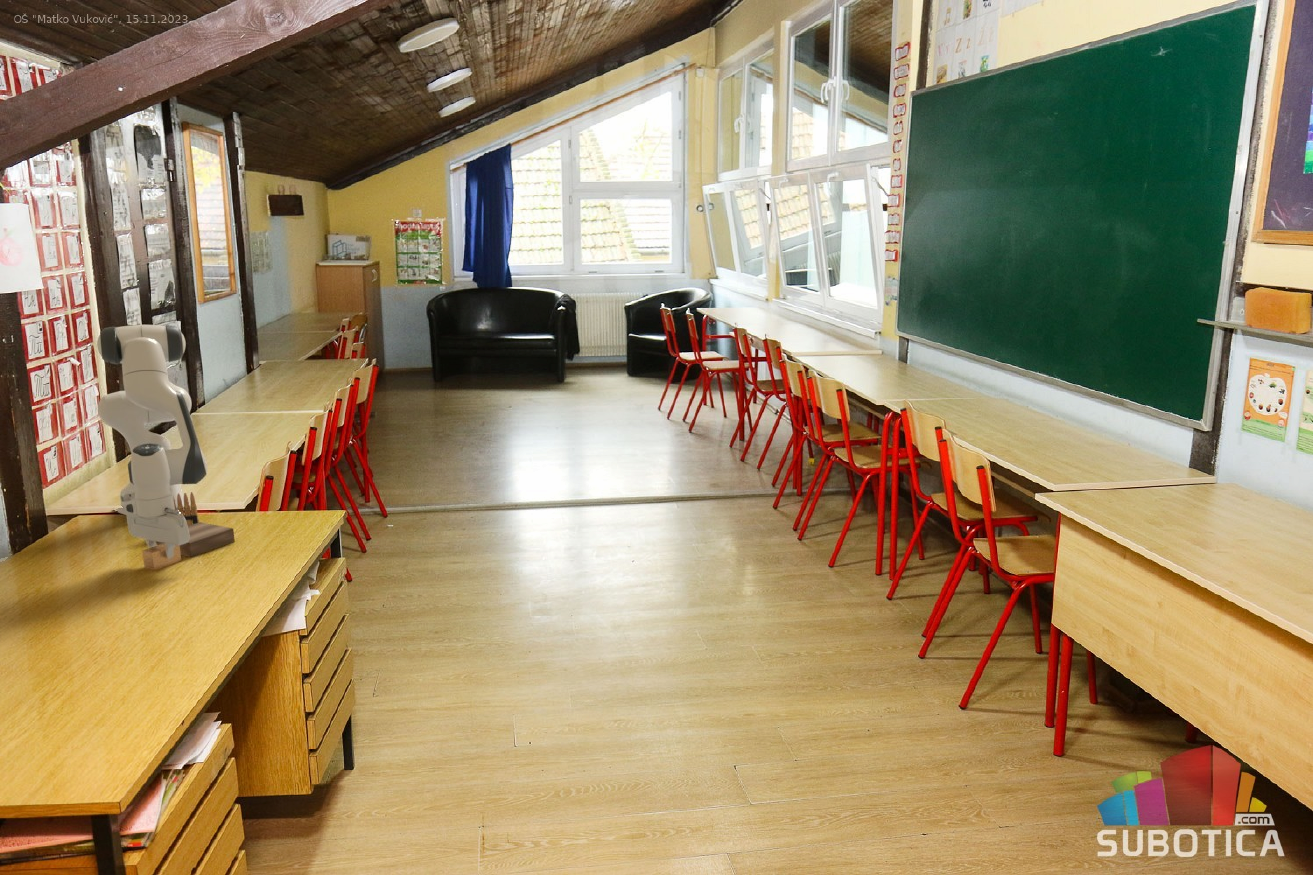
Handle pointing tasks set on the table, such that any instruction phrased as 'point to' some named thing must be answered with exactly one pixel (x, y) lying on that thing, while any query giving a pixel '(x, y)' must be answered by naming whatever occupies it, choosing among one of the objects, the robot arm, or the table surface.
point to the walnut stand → (205, 538)
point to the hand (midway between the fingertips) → (162, 555)
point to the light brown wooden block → (159, 557)
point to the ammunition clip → (187, 508)
